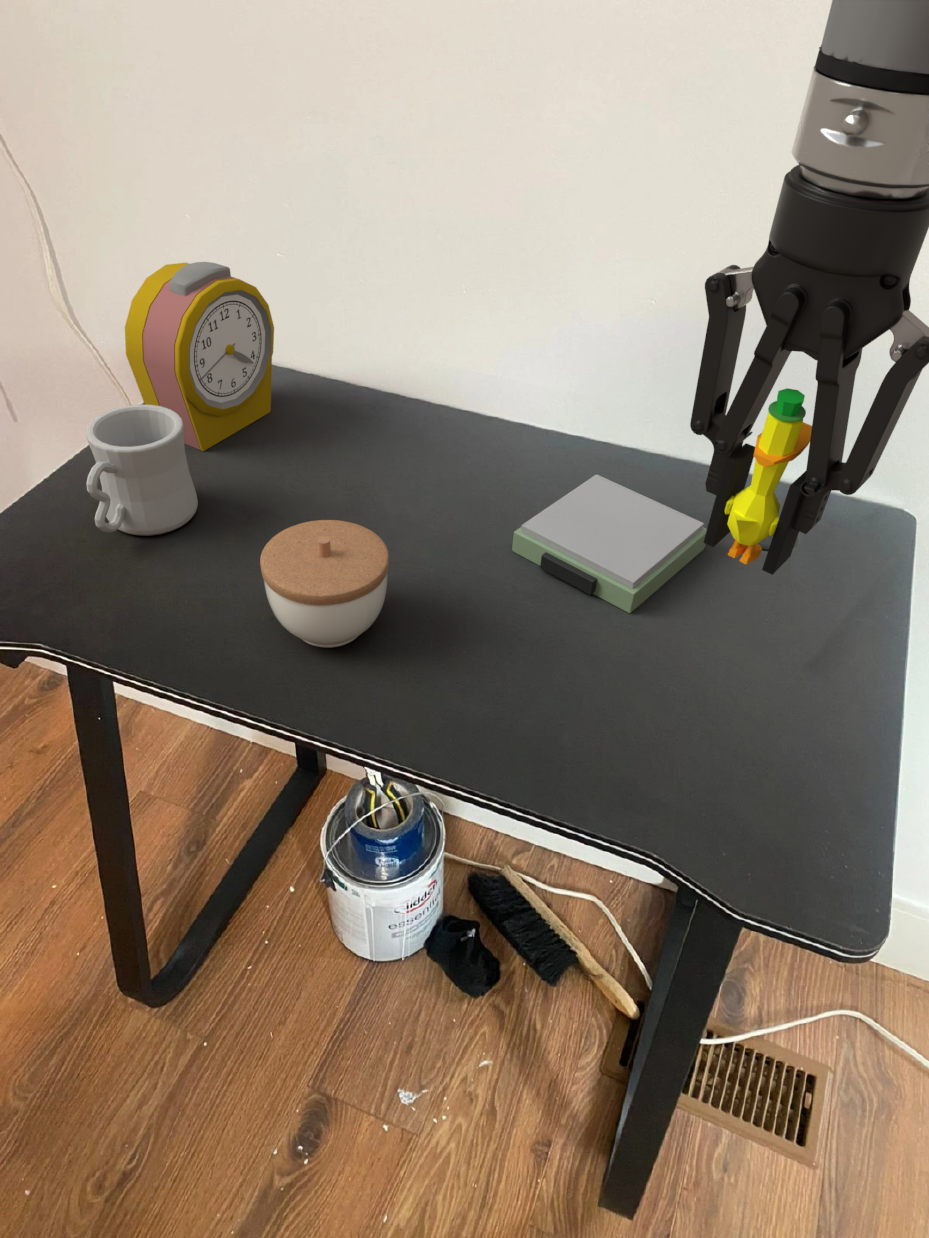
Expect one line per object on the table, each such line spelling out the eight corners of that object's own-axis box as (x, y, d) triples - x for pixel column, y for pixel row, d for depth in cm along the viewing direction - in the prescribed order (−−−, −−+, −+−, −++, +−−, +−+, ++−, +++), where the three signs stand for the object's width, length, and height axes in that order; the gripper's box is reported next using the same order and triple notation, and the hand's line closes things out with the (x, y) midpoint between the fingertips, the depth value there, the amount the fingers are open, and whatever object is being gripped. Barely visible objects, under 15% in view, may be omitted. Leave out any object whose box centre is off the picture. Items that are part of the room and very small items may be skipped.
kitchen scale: (704, 549, 93) (711, 523, 91) (625, 617, 85) (631, 591, 83) (591, 495, 100) (595, 470, 98) (507, 554, 91) (509, 527, 89)
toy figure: (746, 520, 64) (798, 361, 56) (793, 543, 63) (853, 382, 55) (696, 562, 60) (744, 397, 52) (744, 587, 59) (801, 421, 51)
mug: (142, 481, 98) (123, 395, 92) (216, 500, 96) (202, 414, 89) (65, 544, 89) (39, 454, 83) (146, 567, 87) (125, 477, 81)
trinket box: (335, 572, 88) (331, 489, 82) (414, 625, 83) (415, 541, 76) (243, 623, 82) (231, 538, 76) (322, 684, 76) (315, 598, 70)
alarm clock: (196, 460, 102) (168, 297, 90) (143, 437, 105) (109, 277, 93) (284, 407, 112) (270, 254, 100) (233, 389, 115) (213, 238, 103)
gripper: (681, 152, 48) (611, 522, 63) (1016, 236, 40) (843, 634, 55) (747, 128, 52) (667, 479, 67) (1060, 199, 44) (888, 577, 60)
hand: (746, 548), depth 61 cm, fingers closed on toy figure, 4 cm apart
